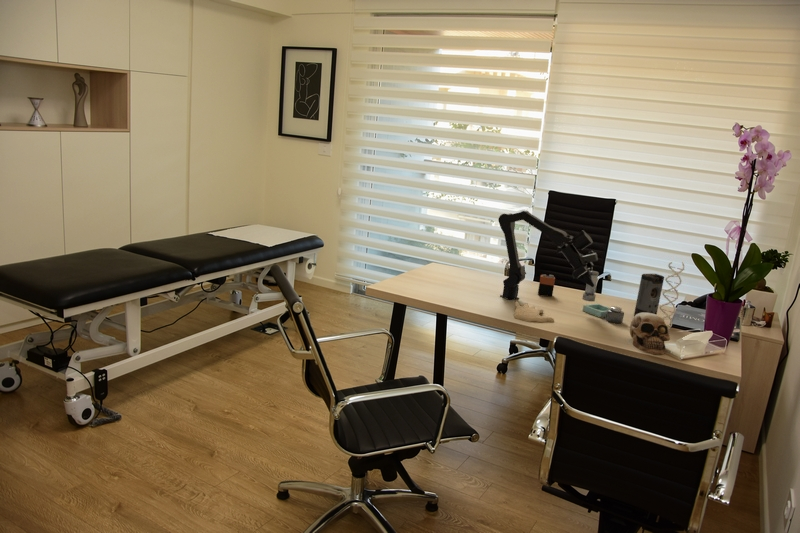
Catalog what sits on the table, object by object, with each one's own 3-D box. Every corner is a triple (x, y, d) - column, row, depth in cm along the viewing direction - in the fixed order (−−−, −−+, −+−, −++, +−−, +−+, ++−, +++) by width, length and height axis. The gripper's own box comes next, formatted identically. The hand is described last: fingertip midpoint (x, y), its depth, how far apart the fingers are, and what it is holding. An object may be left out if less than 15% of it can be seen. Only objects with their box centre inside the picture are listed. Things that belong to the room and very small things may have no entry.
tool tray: (600, 317, 266) (601, 311, 266) (582, 310, 274) (583, 305, 274) (615, 315, 272) (616, 310, 271) (597, 309, 280) (598, 303, 279)
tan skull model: (656, 355, 223) (661, 319, 222) (615, 344, 237) (619, 310, 236) (679, 351, 233) (684, 317, 231) (638, 341, 246) (642, 308, 245)
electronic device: (642, 321, 267) (651, 277, 263) (631, 317, 272) (640, 273, 268) (657, 320, 272) (666, 276, 267) (646, 316, 277) (655, 273, 272)
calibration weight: (615, 324, 258) (617, 310, 257) (601, 319, 264) (604, 306, 262) (625, 323, 262) (628, 309, 261) (612, 318, 268) (614, 304, 266)
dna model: (662, 335, 249) (677, 263, 243) (650, 330, 255) (665, 260, 248) (674, 335, 252) (689, 264, 245) (662, 329, 258) (677, 260, 251)
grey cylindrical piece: (589, 301, 263) (594, 273, 260) (579, 298, 267) (584, 270, 265) (597, 301, 266) (602, 273, 263) (587, 297, 270) (592, 270, 267)
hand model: (504, 310, 253) (519, 295, 270) (503, 320, 255) (518, 304, 272) (549, 323, 245) (562, 306, 262) (547, 333, 247) (560, 316, 264)
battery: (552, 297, 293) (555, 276, 291) (537, 294, 294) (540, 274, 292) (552, 295, 297) (555, 275, 295) (538, 292, 298) (541, 272, 296)
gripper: (584, 248, 255) (607, 279, 253) (592, 242, 271) (613, 272, 269) (562, 263, 260) (584, 293, 258) (571, 257, 276) (592, 285, 274)
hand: (594, 285), depth 265 cm, fingers closed on grey cylindrical piece, 4 cm apart
